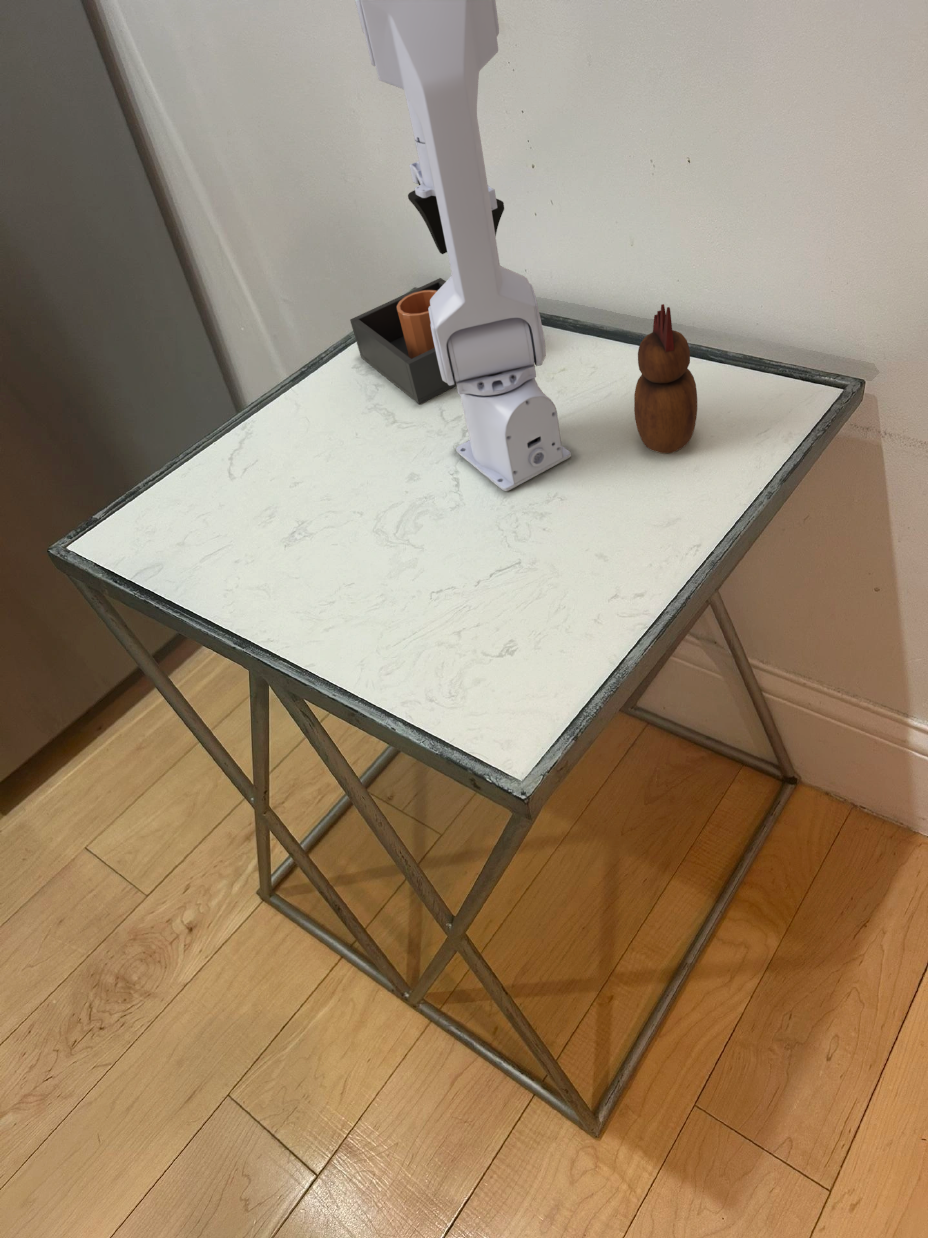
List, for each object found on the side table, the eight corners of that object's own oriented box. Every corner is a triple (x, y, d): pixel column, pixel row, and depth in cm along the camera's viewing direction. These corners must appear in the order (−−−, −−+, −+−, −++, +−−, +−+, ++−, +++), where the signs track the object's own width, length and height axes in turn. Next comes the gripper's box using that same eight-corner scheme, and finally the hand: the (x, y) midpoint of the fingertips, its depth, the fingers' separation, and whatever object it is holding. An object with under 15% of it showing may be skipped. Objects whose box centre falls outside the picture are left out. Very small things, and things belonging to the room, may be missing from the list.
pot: (465, 352, 109) (454, 300, 104) (424, 372, 108) (411, 320, 103) (441, 335, 113) (430, 284, 108) (401, 355, 111) (388, 304, 107)
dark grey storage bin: (513, 357, 107) (506, 316, 104) (419, 404, 104) (408, 364, 101) (448, 315, 117) (440, 277, 113) (360, 357, 114) (349, 319, 110)
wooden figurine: (696, 461, 88) (694, 315, 78) (634, 463, 90) (624, 320, 79) (698, 419, 93) (697, 275, 82) (639, 421, 94) (630, 281, 84)
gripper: (375, 132, 100) (404, 254, 109) (444, 161, 90) (469, 293, 100) (431, 109, 102) (455, 231, 111) (505, 135, 92) (524, 267, 102)
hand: (465, 259), depth 106 cm, fingers open, 7 cm apart
